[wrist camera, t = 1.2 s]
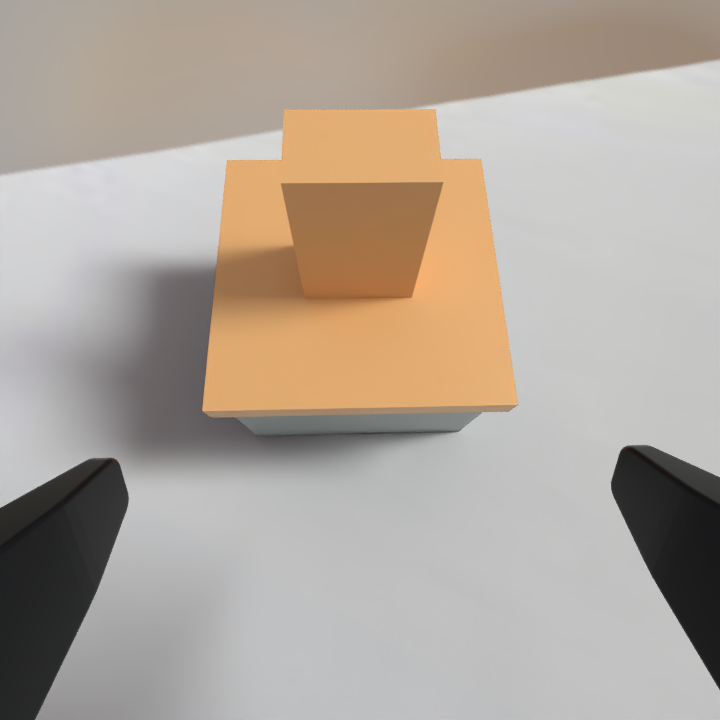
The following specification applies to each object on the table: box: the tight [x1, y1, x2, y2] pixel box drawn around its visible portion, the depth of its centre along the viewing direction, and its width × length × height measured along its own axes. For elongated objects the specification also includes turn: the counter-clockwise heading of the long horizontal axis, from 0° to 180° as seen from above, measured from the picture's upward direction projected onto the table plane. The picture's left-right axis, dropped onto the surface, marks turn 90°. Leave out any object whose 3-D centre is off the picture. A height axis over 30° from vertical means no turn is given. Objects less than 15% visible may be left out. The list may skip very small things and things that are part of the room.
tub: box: [236, 412, 482, 436], centre depth 21 cm, size 10×10×6 cm
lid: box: [202, 109, 518, 418], centre depth 15 cm, size 11×11×8 cm
